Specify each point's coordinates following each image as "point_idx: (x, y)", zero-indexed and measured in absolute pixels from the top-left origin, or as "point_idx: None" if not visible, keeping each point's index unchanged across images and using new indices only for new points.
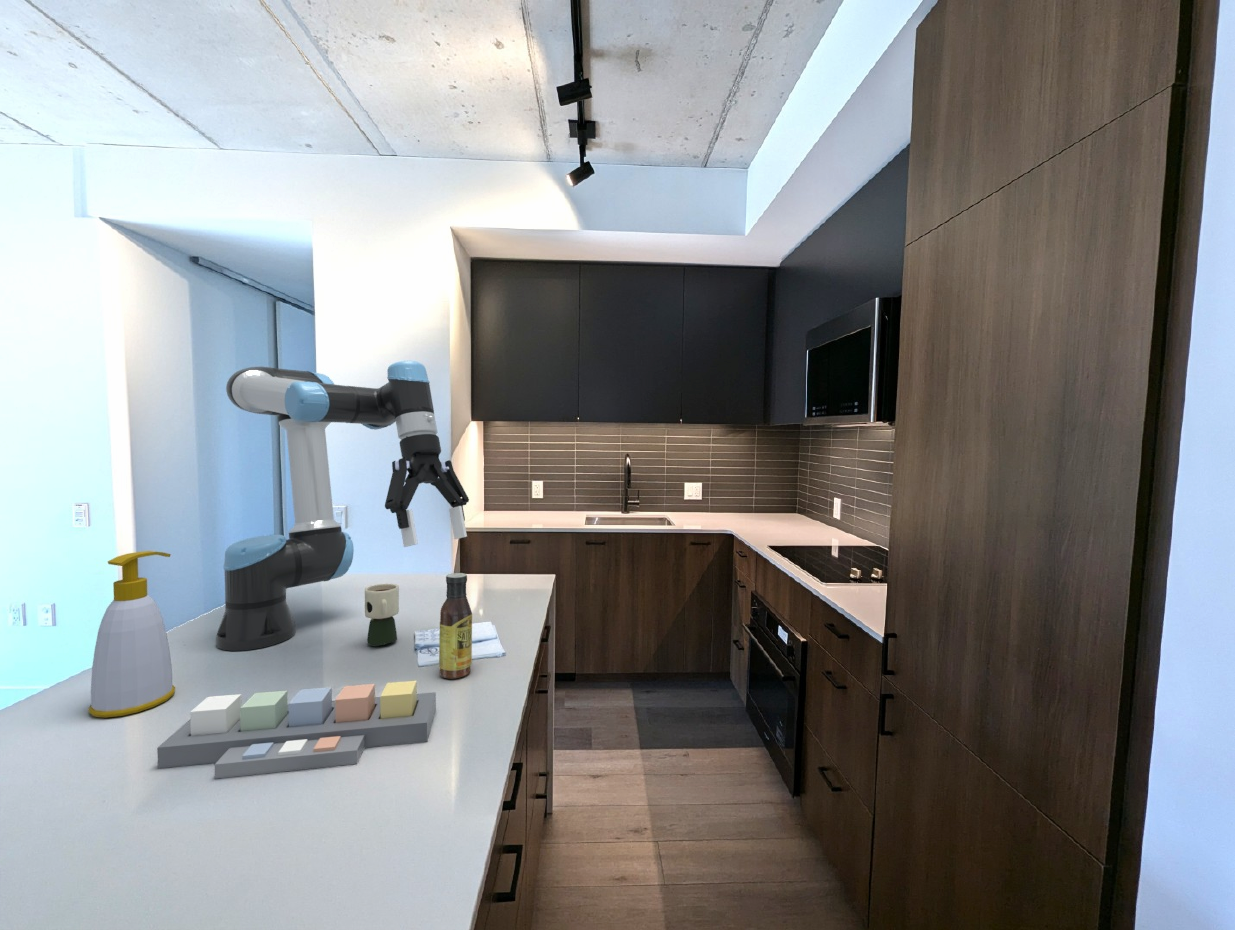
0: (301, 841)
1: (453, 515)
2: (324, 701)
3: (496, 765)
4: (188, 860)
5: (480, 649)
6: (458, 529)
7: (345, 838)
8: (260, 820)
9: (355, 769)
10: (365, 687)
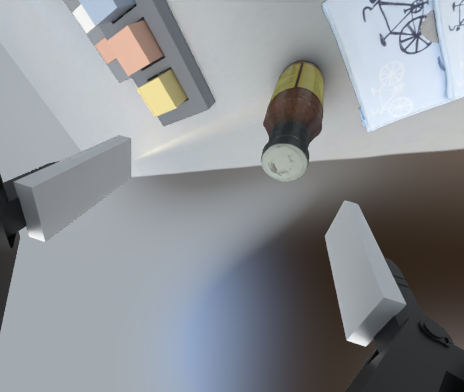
0: (74, 94)
1: (359, 277)
2: (104, 20)
3: (172, 171)
4: (25, 37)
5: (386, 90)
6: (339, 240)
7: (90, 117)
8: (61, 53)
9: (122, 82)
10: (139, 57)
